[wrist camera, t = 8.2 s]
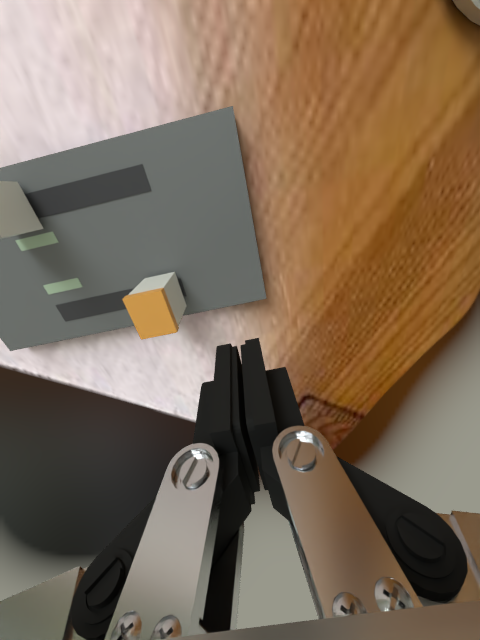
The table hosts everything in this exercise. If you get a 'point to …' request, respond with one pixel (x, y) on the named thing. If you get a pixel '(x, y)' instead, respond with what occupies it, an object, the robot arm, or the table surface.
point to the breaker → (15, 211)
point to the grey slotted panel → (129, 230)
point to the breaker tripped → (156, 305)
